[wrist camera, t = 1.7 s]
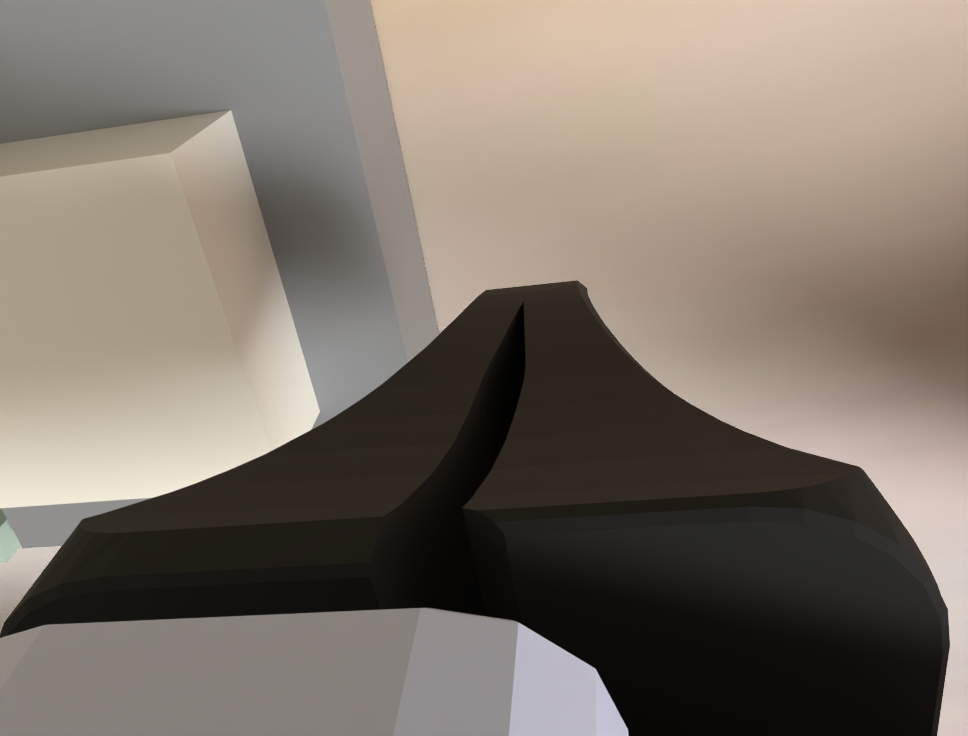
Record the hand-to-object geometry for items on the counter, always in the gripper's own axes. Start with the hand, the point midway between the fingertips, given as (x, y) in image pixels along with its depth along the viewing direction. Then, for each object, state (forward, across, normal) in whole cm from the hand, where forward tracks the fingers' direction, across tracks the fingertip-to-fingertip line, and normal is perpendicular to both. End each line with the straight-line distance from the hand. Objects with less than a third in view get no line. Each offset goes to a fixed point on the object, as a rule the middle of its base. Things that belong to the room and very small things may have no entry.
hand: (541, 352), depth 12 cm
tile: (+4, +8, 0) cm, 9 cm away
